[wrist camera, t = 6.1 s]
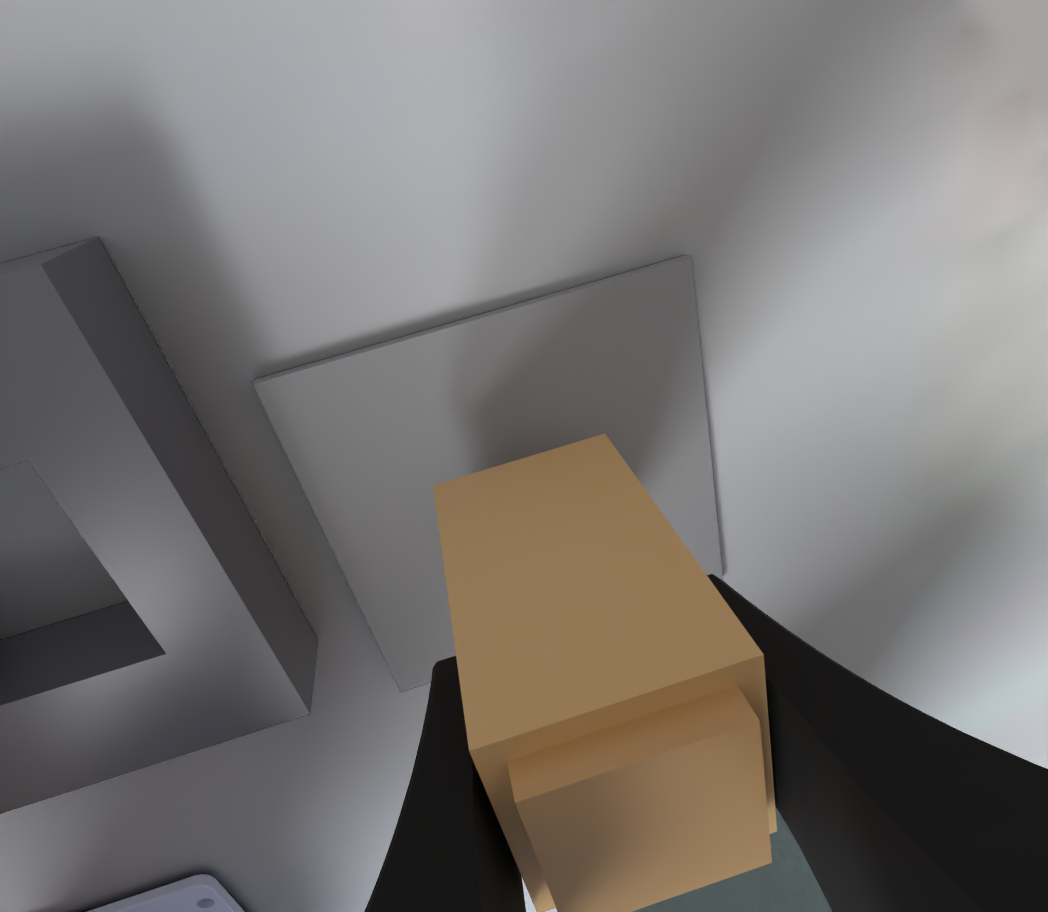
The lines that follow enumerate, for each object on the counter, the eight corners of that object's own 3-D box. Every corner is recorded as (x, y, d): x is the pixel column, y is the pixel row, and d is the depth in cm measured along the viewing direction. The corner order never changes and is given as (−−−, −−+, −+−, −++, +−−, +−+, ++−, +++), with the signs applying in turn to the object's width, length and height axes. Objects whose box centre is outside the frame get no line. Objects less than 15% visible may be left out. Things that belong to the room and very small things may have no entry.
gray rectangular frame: (318, 640, 18) (310, 714, 16) (-13, 744, 17) (-68, 835, 15) (98, 236, 12) (40, 264, 10) (-395, 370, 12) (-565, 429, 10)
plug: (631, 570, 17) (798, 868, 10) (479, 618, 16) (545, 957, 10) (604, 433, 15) (788, 688, 8) (433, 485, 14) (475, 793, 8)
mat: (719, 581, 20) (723, 588, 20) (400, 684, 19) (400, 692, 19) (686, 254, 15) (691, 257, 15) (254, 379, 14) (252, 384, 14)
